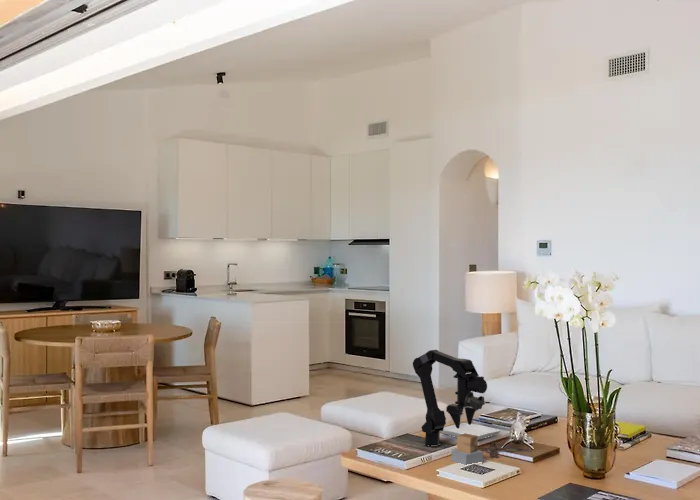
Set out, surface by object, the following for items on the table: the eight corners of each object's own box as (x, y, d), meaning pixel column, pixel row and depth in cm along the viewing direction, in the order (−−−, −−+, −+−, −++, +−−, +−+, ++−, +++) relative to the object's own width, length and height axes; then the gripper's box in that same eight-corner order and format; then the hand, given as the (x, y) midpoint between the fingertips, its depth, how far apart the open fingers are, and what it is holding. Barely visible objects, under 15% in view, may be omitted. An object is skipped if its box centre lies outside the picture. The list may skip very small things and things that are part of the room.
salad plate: (465, 428, 348) (465, 421, 348) (501, 436, 333) (501, 429, 333) (437, 435, 334) (437, 428, 334) (474, 444, 318) (474, 437, 318)
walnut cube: (464, 447, 295) (464, 433, 295) (477, 450, 291) (477, 435, 291) (457, 450, 291) (457, 435, 291) (470, 453, 287) (470, 438, 287)
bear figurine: (472, 450, 298) (472, 438, 313) (472, 460, 299) (471, 447, 313) (516, 452, 296) (513, 440, 310) (515, 462, 296) (513, 449, 310)
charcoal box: (468, 458, 297) (468, 446, 297) (482, 464, 289) (483, 451, 289) (451, 461, 292) (451, 449, 292) (466, 467, 285) (466, 454, 285)
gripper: (468, 395, 289) (468, 433, 289) (492, 389, 303) (491, 425, 303) (445, 391, 296) (445, 429, 296) (469, 385, 310) (469, 421, 310)
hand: (463, 426), depth 301 cm, fingers open, 9 cm apart
